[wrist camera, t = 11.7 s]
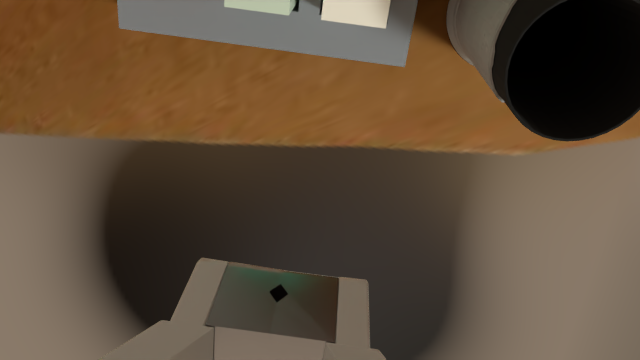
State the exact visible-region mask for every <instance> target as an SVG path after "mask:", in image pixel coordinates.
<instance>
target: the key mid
mask: <svg viewBox="0 0 640 360" xmlns="http://www.w3.org/2000/svg"><path fill="white" fill-rule="evenodd" d="M297 2H298V0H224V7H230V8H237V9H244V10H252V11H259V12H267V13H274V14H281V15H289V14H290V13H291V11H292V10H293V8H294V7H295V5H296V4H297Z"/></svg>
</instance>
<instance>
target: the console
mask: <svg viewBox="0 0 640 360" xmlns="http://www.w3.org/2000/svg"><path fill="white" fill-rule="evenodd" d="M117 3H118V18H119V28H121V29H128V30H136V31H143V32H150V33H158V34H165V35H172V36H180V37H187V38H195V39H202V40H209V41H217V42H224V43H231V44H239V45H246V46H254V47H261V48H268V49H276V50H283V51H290V52H298V53H305V54H312V55H320V56H327V57H335V58H342V59H349V60H357V61H364V62H371V63H379V64H386V65H394V66H401V67H405V63H406V58H407V53H408V48H409V43H410V38H411V33H412V28H413V23H414V18H415V13H416V8H417V3H418V0H391V2H390V7H389V13H388V19H387V24H386V29H385V28H377V27H370V26H363V25H355V24H348V23H340V22H333V21H326V20H321V16H322V7H323V0H298V2H297V4H296V5H295V7H294V8H293V10H292V11H291V13H290V14H289V15H281V14H274V13H267V12H259V11H252V10H244V9H237V8H230V7H224V0H117Z"/></svg>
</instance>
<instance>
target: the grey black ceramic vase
mask: <svg viewBox="0 0 640 360" xmlns="http://www.w3.org/2000/svg"><path fill="white" fill-rule="evenodd" d="M446 24H447V30H448V35H449V38H450V41H451V43H452V45H453V47H454V48H455V50H456V52H457V53H458V54H459V55H460V56H461V57H462V58H463V59H464V60H466V61H467V62H468V63H470V64H471V65H473V66H475V67H476V69H477V70H478V71H479V73H480V74H481V76H482V77H483V78H484V80H485V81H486V83H487V84H488V85H489V87H490V88H491V90H492V91H493V92H494V94H495V95H496V97H497V98H498V99H499V100H500V101H501V102H505V103H506V105H507V106H508V107H509V109H510V110H511V111H512V113H513V114H514V115H515V117H516V118H517V119H518V120H519V121H520V122H521V123H522V125H524V126H525V127H526V128H528V129H529V130H530V131H532V132H534V133H536V134H538V135H540V136H542V137H545V138H549V139H552V140H559V141H579V140H585V139H589V138H594V137H597V136H599V135H602V134H605V133H607V132H609V131H611V130H613V129H615V128H617V127H619V126H620V125H622V124H623V123H625V122H626V121H627V120H629V119H630V118H632V117H633V116H634V115H635V114H636V113H637V112H638V111H639V110H640V0H450V1H449V4H448V9H447V22H446Z"/></svg>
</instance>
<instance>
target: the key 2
mask: <svg viewBox="0 0 640 360" xmlns="http://www.w3.org/2000/svg"><path fill="white" fill-rule="evenodd" d="M390 2H391V0H323V7H322V16H321V20H326V21H333V22H340V23H348V24H355V25H363V26H370V27H377V28H385V29H386V24H387V19H388V13H389V7H390Z"/></svg>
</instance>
